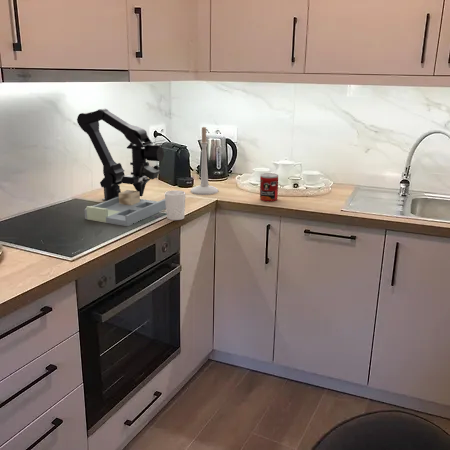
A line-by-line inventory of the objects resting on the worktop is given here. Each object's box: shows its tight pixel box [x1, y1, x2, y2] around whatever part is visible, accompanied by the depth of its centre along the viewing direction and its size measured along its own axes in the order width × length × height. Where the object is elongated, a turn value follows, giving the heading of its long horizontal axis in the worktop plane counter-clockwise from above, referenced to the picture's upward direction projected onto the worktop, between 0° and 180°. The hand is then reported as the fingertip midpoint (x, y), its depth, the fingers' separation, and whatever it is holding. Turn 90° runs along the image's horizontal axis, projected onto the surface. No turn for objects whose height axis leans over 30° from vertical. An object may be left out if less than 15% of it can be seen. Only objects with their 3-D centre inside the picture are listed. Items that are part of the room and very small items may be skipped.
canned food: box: [259, 172, 279, 202], centre depth 221 cm, size 8×8×11 cm
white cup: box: [164, 189, 186, 221], centre depth 195 cm, size 8×8×10 cm
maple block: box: [119, 189, 141, 205], centre depth 209 cm, size 6×6×4 cm
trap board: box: [84, 197, 166, 227], centre depth 202 cm, size 20×28×5 cm
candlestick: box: [190, 126, 219, 196], centre depth 232 cm, size 13×13×30 cm
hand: (141, 196), depth 216 cm, fingers closed
